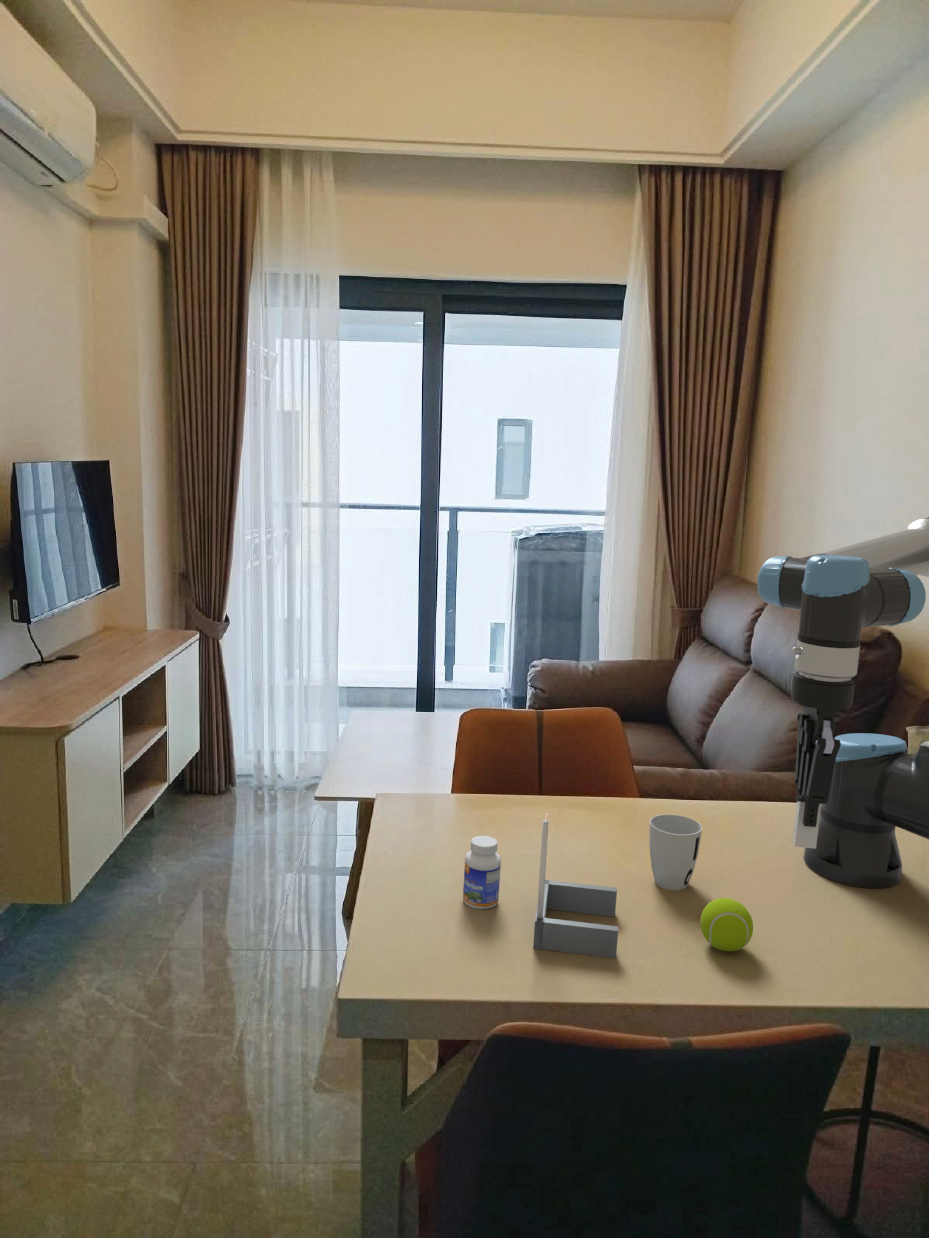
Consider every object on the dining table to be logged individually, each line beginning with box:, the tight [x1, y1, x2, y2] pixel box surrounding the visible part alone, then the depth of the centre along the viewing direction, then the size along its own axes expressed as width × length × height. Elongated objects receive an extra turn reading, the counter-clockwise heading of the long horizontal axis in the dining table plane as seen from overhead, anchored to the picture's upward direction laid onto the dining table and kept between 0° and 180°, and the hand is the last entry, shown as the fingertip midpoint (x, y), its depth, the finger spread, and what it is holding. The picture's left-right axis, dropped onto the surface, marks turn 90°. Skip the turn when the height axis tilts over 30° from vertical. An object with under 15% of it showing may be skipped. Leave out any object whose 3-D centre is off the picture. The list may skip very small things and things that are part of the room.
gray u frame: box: [532, 812, 619, 959], centre depth 123 cm, size 11×12×18 cm
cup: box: [648, 813, 703, 891], centre depth 139 cm, size 8×8×10 cm
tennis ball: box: [700, 897, 754, 952], centre depth 120 cm, size 7×7×7 cm
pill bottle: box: [462, 835, 502, 910], centre depth 130 cm, size 5×5×10 cm
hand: (804, 844), depth 117 cm, fingers closed
